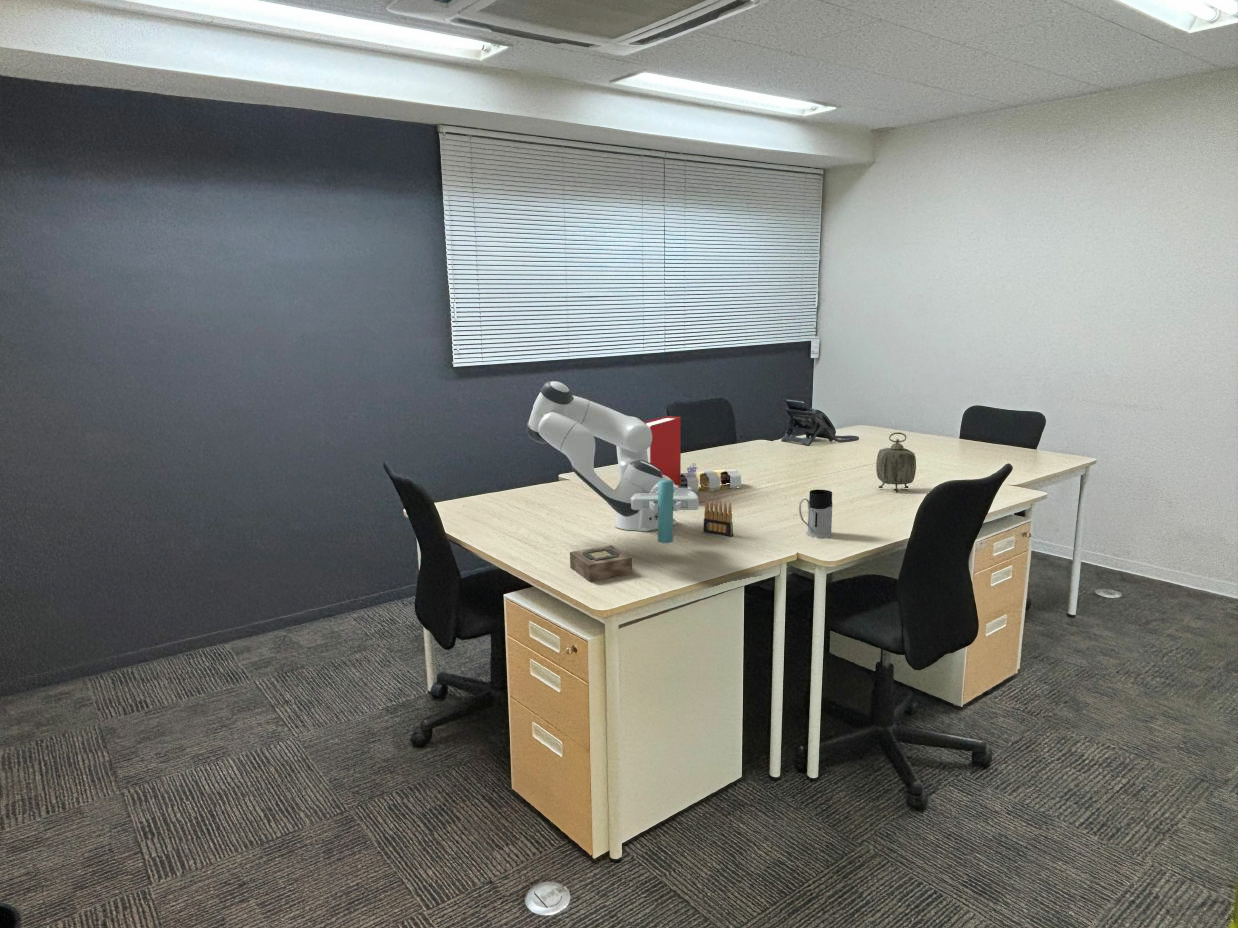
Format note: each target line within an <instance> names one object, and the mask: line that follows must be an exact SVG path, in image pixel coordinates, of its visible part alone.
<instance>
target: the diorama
mask: <svg viewBox="0 0 1238 928" xmlns="http://www.w3.org/2000/svg"><path fill="white" fill-rule="evenodd" d="M697 468H698V467H697V464H696V463H691V466H689V467H686V471H687V472H681V486H684V487H690V488H692V491H693V492H697V493H698V491H699V489H700V488H701V487H702V488H706V487H705V486H709V487H708V489H707V492H713V491H712V490H718V491H720V488H721V486H720V484H726V483H730V485H729V488H737V487H740V488H741V486H742V475H741V473H739V470H738V469H735V468H729V469H718V470H715V469H714V470H706V471H705V470H704V471H703V470H702V471H697V470H698V469H697ZM699 487H700V488H699Z"/></svg>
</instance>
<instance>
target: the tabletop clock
mask: <svg viewBox="0 0 1238 928" xmlns="http://www.w3.org/2000/svg"><path fill="white" fill-rule="evenodd" d="M894 435H902V436H904V439H903V440H900V439H899V438H896V440H893V439H892V438H891V437H893V436H894ZM888 439H889V440H890V441H891V442H893V443H892V444H891V446H890V447H885V448H881V449H879V451H878V453H877V457H876V464H875V465H876V466H875V468H876V469H875V471H876V476H877V479H878V480H879V481H880V482H881V483H882V484H881V485H879V486H878V489H879V488H882V489H883V488H884V487H883V486H885V484H887V485H895V489H894V490H895V491H898V492H899V488H898V485H904V489H905V488H908V489H909V488H910V487H909V486H908V485H909V484H911V483H913V482H914V480H915V477H916V471H917V457H916V454H915V452H913V451H911V450H910V449H907V448H905V447H904V446H903V444H902V443H903V442H905V441H907V435H906V434H905V433H903V432H892V433H891V434H889V437H888ZM895 491H894V492H895Z"/></svg>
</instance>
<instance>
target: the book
mask: <svg viewBox="0 0 1238 928" xmlns="http://www.w3.org/2000/svg"><path fill="white" fill-rule="evenodd" d="M681 420H682V419H681V416H674V415H673V416H672V415H662V416H659V417H656V418H652V419H648V420H645V421H643V422H644V423H645V424H647V425H648V426H649V428H650V429H651V432H652V443H651V445H650V447H649V448H648V449H647V455H648V462H649V463H651V464H653V465H654V466H656V467H657V468H659V469H660V471H661V473H662V475H665V476H667V477H669V478H670V479H671V480H672V481H673V482H674V484H675V485H677V486H681V473H682V472H681V470H682V466H681V463H682V462H681V461H682V460H681V459H682V458H681V457H682V456H681V451H682V450H681V445H682V441H681V433H682V431H681V426H682V425H681Z"/></svg>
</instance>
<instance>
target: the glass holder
mask: <svg viewBox="0 0 1238 928" xmlns="http://www.w3.org/2000/svg"><path fill="white" fill-rule="evenodd" d="M808 496H809V499H807V498H802V499H801V500H800V502H799V504H798V512H799V517H800V519H801V521H802V522H803V523H804V524H805V525H806V526H807V531H806V536H807V537H810V536H811V538H814V537H817V538H816V539H827V538H826V537H829V538H831V537H830V536H832V535H833V532H832V529H833V527H832V525H833V524H832V523H833V492H832V491H831V490H828V489H812V490H809V495H808ZM804 501H806V502H807V509H808V510H807V511H808V512H807V513H808V514H807V516H808V517H807V522H806V521H805V520H804V517H803V514H802V503H803V502H804ZM832 537H833V536H832Z"/></svg>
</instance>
